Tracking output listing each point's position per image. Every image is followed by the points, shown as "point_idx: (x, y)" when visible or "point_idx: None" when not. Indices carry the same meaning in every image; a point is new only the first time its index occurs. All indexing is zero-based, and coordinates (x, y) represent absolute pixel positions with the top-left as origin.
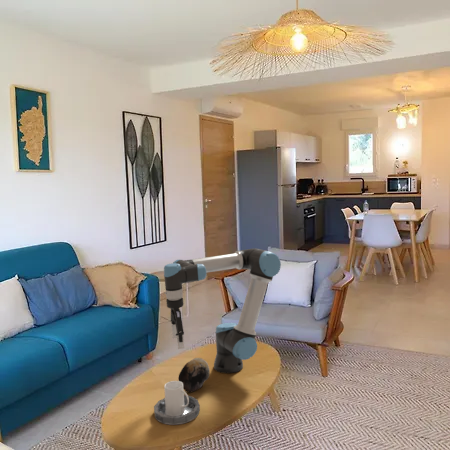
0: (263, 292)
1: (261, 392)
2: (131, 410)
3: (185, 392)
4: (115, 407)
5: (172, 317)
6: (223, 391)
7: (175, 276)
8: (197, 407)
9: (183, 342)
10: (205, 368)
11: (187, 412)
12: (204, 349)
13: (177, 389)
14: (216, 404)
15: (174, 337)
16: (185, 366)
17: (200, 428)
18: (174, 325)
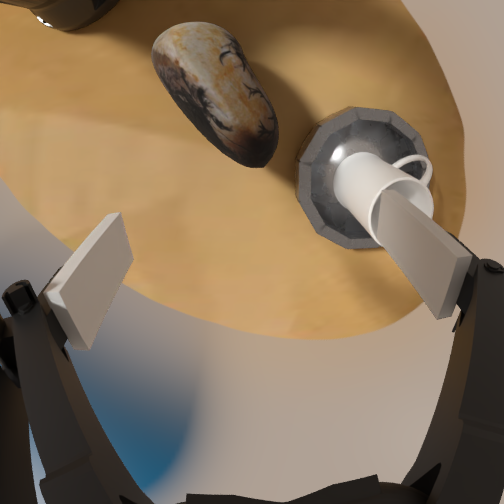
0: None
1: None
2: (300, 294)
3: (431, 172)
4: (270, 327)
5: (131, 476)
6: (268, 4)
7: None
8: (402, 121)
9: (420, 212)
10: (230, 37)
11: (381, 148)
12: None
13: (432, 204)
14: (352, 48)
15: (128, 251)
16: (254, 139)
17: (450, 134)
18: (79, 320)
